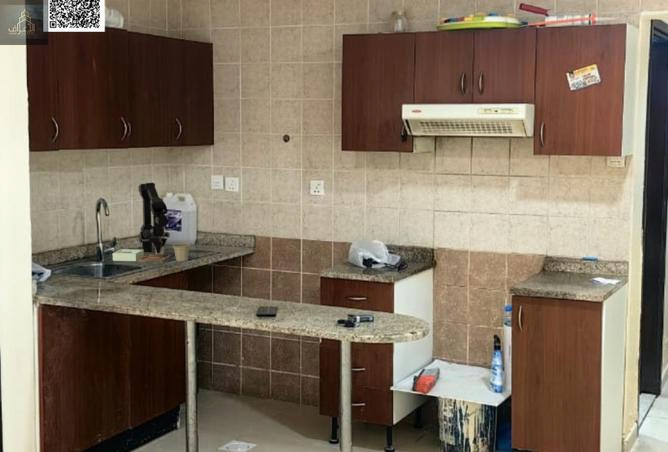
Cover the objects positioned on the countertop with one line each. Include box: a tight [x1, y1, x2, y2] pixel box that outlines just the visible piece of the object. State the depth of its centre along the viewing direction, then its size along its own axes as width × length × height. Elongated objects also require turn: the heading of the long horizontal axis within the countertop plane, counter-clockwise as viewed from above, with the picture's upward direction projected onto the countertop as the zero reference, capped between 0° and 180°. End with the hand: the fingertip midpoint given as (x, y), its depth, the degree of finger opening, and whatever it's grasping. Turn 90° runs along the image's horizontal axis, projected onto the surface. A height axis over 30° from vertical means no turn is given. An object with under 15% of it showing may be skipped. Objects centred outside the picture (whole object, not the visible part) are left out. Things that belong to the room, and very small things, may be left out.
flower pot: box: [172, 243, 191, 262], centre depth 534 cm, size 9×9×9 cm
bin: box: [112, 248, 145, 262], centre depth 540 cm, size 13×13×5 cm
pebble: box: [154, 246, 165, 254], centre depth 538 cm, size 4×4×4 cm
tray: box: [136, 253, 173, 263], centre depth 539 cm, size 17×14×2 cm
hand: (159, 252), depth 538 cm, fingers closed on pebble, 4 cm apart
